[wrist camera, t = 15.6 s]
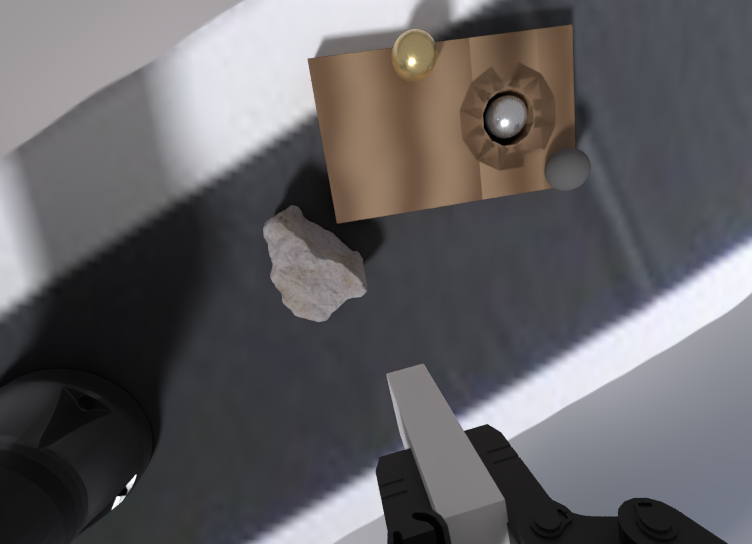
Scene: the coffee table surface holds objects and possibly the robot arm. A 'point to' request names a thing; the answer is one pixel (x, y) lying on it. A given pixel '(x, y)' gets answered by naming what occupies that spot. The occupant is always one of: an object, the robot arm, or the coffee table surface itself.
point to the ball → (506, 116)
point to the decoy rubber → (567, 169)
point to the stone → (311, 266)
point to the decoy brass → (414, 55)
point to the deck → (442, 122)
